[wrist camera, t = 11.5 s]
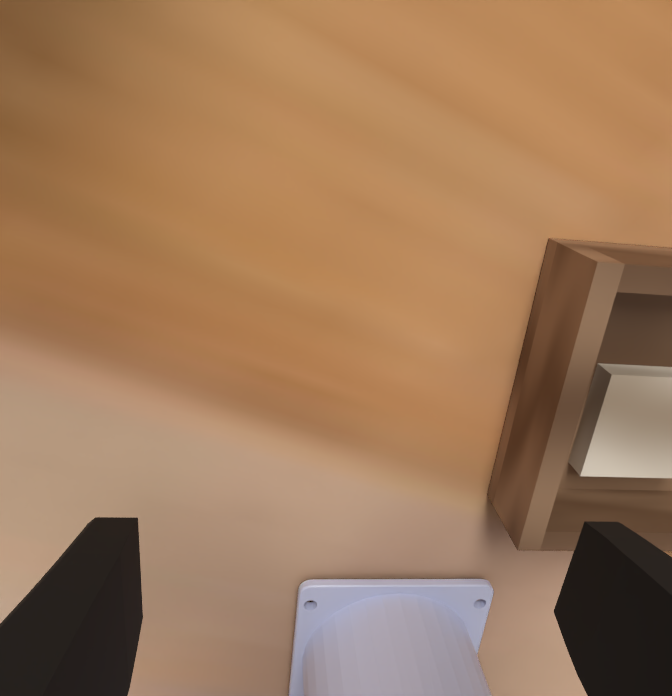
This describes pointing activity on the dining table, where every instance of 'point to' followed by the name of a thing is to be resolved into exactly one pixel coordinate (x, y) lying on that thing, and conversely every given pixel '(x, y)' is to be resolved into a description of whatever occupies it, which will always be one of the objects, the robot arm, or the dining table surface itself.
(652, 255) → the walnut box
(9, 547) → the dining table surface
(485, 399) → the dining table surface
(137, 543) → the robot arm
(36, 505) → the dining table surface
